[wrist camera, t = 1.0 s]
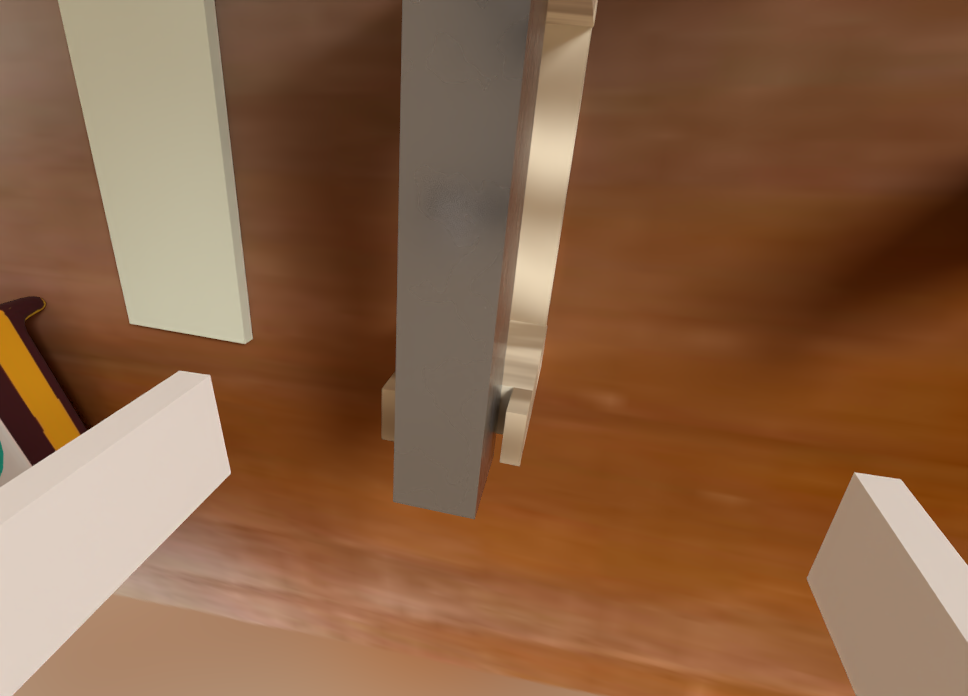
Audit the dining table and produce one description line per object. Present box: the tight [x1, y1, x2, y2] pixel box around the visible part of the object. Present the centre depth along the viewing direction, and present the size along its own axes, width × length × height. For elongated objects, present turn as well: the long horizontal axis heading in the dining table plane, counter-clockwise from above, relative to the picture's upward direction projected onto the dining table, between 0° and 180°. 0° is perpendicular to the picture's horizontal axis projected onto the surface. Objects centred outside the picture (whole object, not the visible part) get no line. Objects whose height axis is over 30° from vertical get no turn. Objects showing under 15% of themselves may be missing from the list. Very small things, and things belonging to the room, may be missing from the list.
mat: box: [58, 0, 253, 344], centre depth 35 cm, size 28×10×1 cm, turn 175°
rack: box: [382, 0, 598, 466], centre depth 27 cm, size 26×7×12 cm, turn 175°
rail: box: [393, 0, 548, 519], centre depth 21 cm, size 26×4×5 cm, turn 175°
